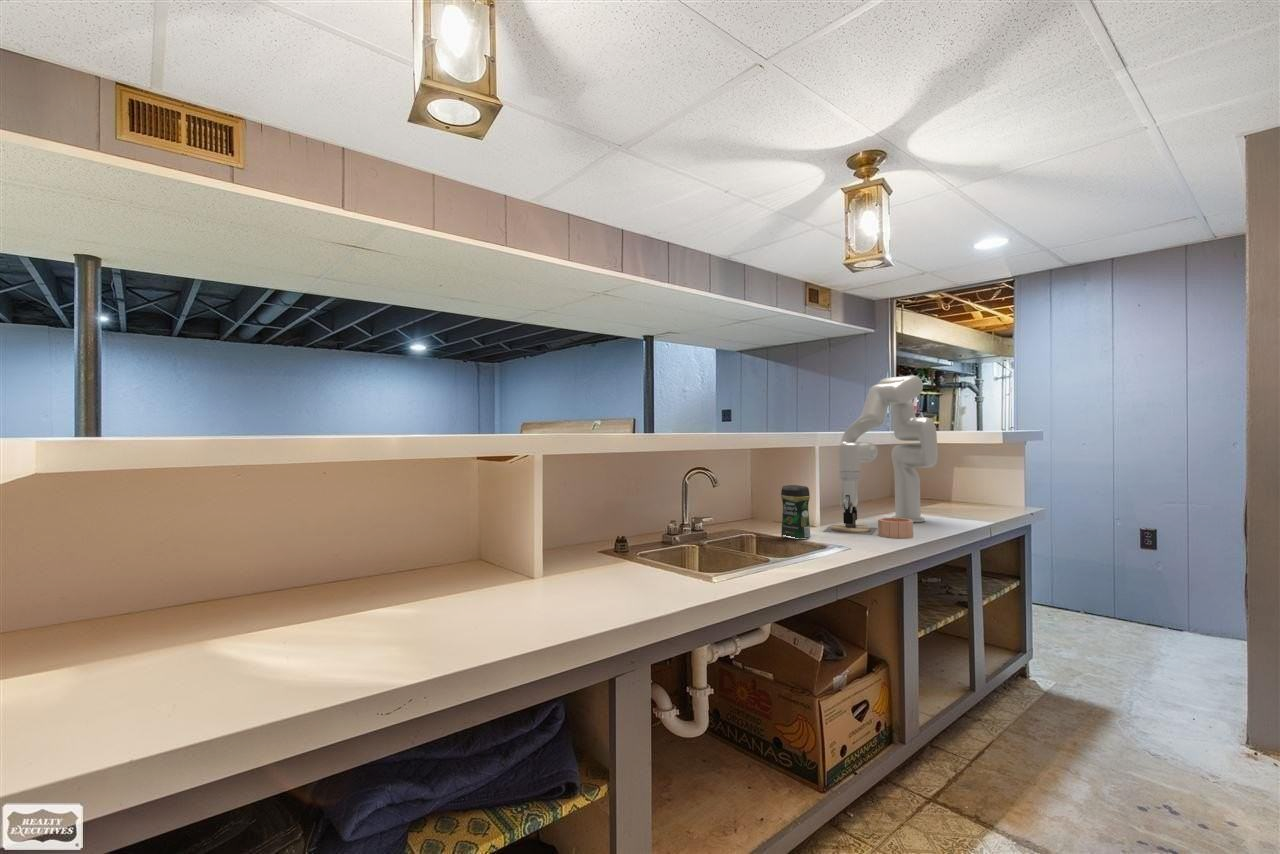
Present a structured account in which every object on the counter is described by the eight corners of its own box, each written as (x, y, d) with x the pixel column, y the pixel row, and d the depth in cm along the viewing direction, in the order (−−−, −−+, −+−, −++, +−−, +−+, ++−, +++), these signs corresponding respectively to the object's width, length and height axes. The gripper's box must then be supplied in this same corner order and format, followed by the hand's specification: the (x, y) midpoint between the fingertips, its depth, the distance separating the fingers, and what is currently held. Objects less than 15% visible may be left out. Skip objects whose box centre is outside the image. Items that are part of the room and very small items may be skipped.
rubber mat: (831, 526, 230) (831, 525, 230) (877, 529, 222) (877, 527, 222) (822, 533, 216) (822, 531, 216) (871, 536, 207) (871, 534, 207)
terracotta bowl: (880, 533, 213) (880, 517, 214) (913, 535, 208) (913, 518, 208) (876, 538, 204) (876, 521, 204) (911, 540, 199) (911, 523, 199)
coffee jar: (777, 537, 208) (776, 484, 209) (792, 534, 213) (791, 483, 213) (799, 541, 201) (798, 486, 201) (814, 538, 205) (813, 485, 206)
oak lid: (834, 525, 228) (834, 510, 229) (873, 528, 222) (872, 512, 222) (827, 531, 216) (827, 515, 216) (868, 533, 209) (867, 517, 210)
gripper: (843, 474, 229) (843, 518, 228) (834, 477, 213) (835, 524, 213) (863, 474, 225) (864, 519, 225) (856, 477, 210) (857, 525, 210)
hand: (850, 521), depth 219 cm, fingers open, 9 cm apart
